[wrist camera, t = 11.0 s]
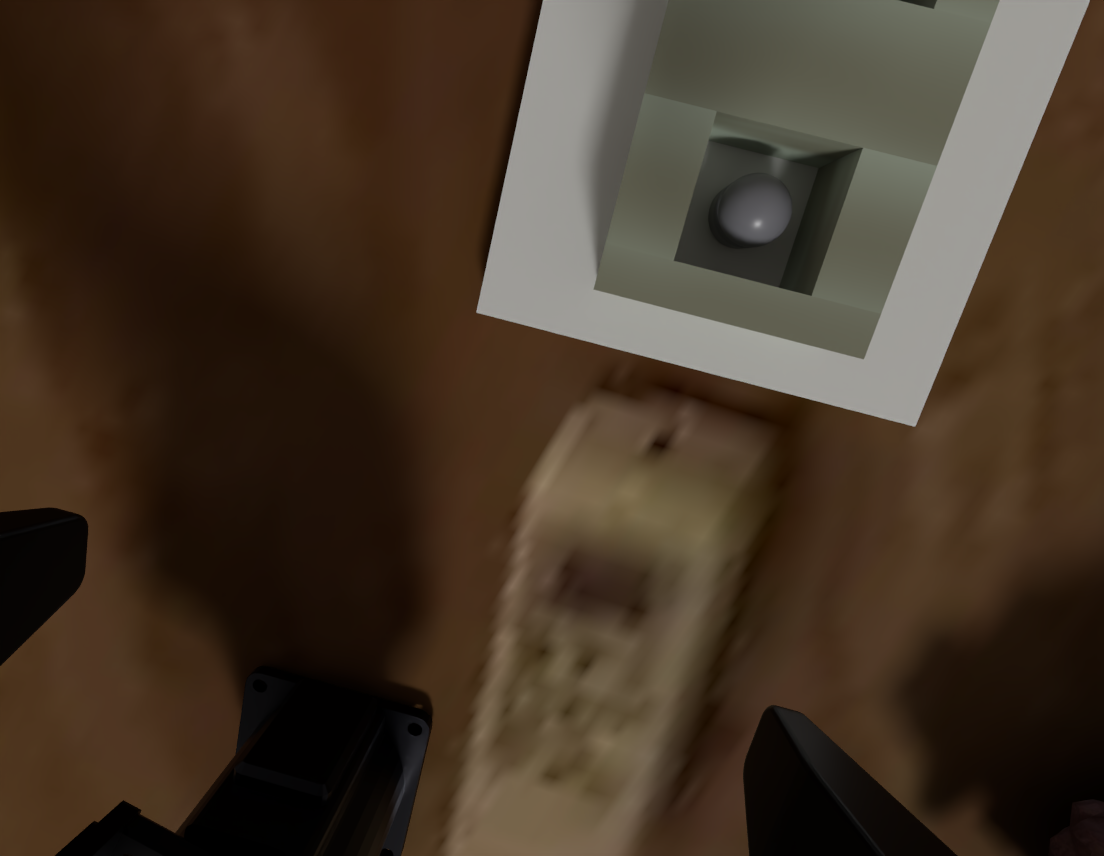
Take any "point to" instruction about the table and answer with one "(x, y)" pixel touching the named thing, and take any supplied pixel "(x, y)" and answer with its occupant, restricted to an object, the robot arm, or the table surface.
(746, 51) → the bar
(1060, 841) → the pine cone
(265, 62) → the table surface
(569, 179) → the post board
